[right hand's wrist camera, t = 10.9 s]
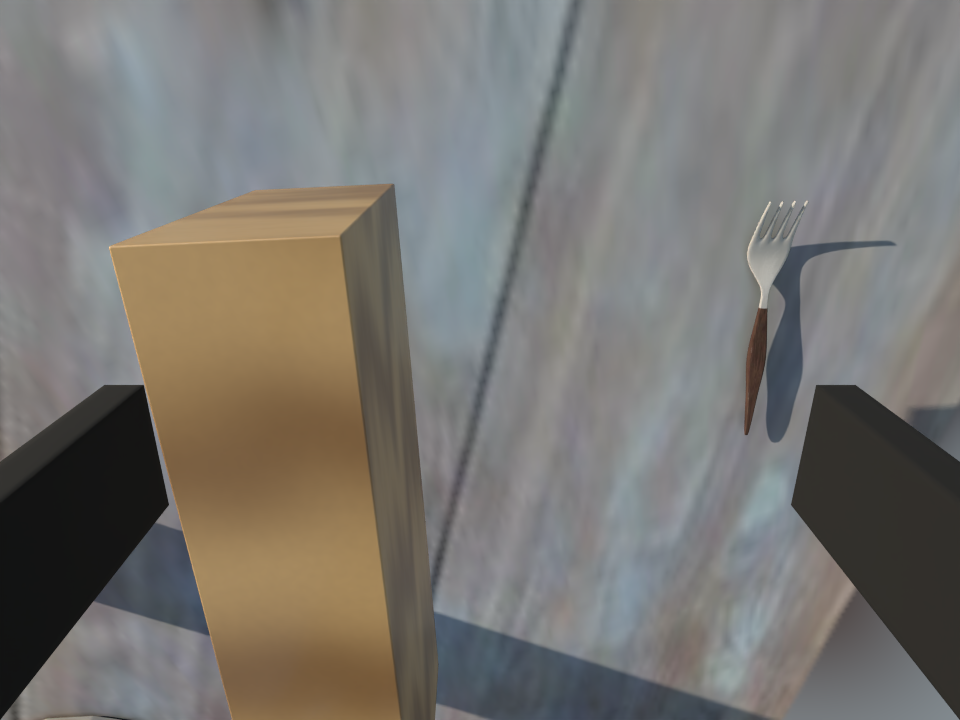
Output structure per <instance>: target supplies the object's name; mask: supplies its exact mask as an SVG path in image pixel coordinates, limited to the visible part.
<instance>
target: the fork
mask: <svg viewBox="0 0 960 720" xmlns="http://www.w3.org/2000/svg"><path fill="white" fill-rule="evenodd" d="M795 203H796V201H794V202H793V204H792V206H791V207H790V209H789V211H788V213H787V215H786V217H785V219H784V220H783V222H782V224H781V226H780V228H779V230H778V232H777V234H776V236H775V237H774V238H771V235H772V231H773V228H774V226H775V223H776V220H777V218H778V215H779V213H780V210H781V208H782V205H783V201H782V202H781V204H780V206H779V208H778V209H777V211H776V213H775V215H774V217H773V219H772V221H771V223H770V225H769V227H768V229H767V231H766V233H765V235H764V237H763V238H761V239H760V232H761V229H762V226H763V224H764V221H765V218H766V215H767V213H768V210H769V207H770V205H771V202H769V204H768V206H767V208H766V210H765V212H764V214H763V216H762V218H761V220H760V222H759V224H758V226H757V228H756V230H755V233H754V235H753V237H752V240H751V242H750V244H749V247H748V251H747V260H748V264H749V267H750V269H751V271H752V273H753V274H754V276H755V278H756V280H757V282H758V284H759V286H760V289H761V300H760V304H759V308H758V312H757V316H756V320H755V324H754V328H753V331H752V335H751V339H750V344H749V348H748V353H747V362H746V402H745V425H744V432H745V435H748V432H749V429H750V425H751V421H752V417H753V412H754V408H755V403H756V399H757V395H758V391H759V387H760V383H761V379H762V375H763V371H764V366H765V360H766V348H767V303H768V294H769V290H770V288H771V285H772V283H773V282H774V280H775V278H776V276H777V275H778V273H779V272H780V270H781V268H782V266H783V265H784V263H785V261H786V259H787V256H788V254H789V251H790V248H791V245H792V241H793V237H794V234H795V232H796V229H797V227H798V224H799V222H800V219H801V217H802V215H803V212H804V210H805V208H806V206H807V204H808V200H807V201H806V202H805V204H804V206H803V207H802V209H801V211H800V213H799V214H798V216H797V218H796V220H795V222H794V224H793V226H792V228H791V230H790V231H789V233H788V235H787V236H786V237H785V238H783V233H784V230H785V227H786V225H787V222H788V220H789V217H790V215H791V212H792V210H793V208H794V205H795Z"/></svg>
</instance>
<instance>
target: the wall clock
mask: <svg viewBox="0 0 960 720" xmlns="http://www.w3.org/2000/svg"><path fill="white" fill-rule="evenodd" d="M44 720H120V719H112V718H105V717H97V716H83V717H65V718H48V719H44Z"/></svg>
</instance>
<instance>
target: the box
mask: <svg viewBox="0 0 960 720" xmlns="http://www.w3.org/2000/svg"><path fill="white" fill-rule="evenodd" d="M109 249H110V253H111V257H112V261H113V265H114V269H115V272H116V276H117V280H118V284H119V288H120V292H121V295H122V299H123V303H124V307H125V311H126V315H127V318H128V322H129V326H130V330H131V334H132V338H133V341H134V345H135V349H136V353H137V357H138V361H139V364H140V368H141V372H142V376H143V380H144V384H145V387H146V391H147V395H148V399H149V403H150V407H151V410H152V414H153V418H154V422H155V426H156V430H157V433H158V437H159V441H160V445H161V449H162V453H163V456H164V460H165V464H166V468H167V472H168V476H169V479H170V483H171V487H172V491H173V495H174V499H175V502H176V506H177V510H178V514H179V518H180V522H181V525H182V529H183V533H184V537H185V541H186V545H187V548H188V552H189V556H190V560H191V564H192V568H193V571H194V575H195V579H196V583H197V587H198V591H199V594H200V598H201V602H202V606H203V610H204V614H205V617H206V621H207V625H208V629H209V633H210V637H211V640H212V644H213V648H214V652H215V656H216V660H217V663H218V667H219V671H220V675H221V679H222V683H223V686H224V690H225V694H226V698H227V702H228V706H229V709H230V713H231V717H232V720H435V709H436V694H437V678H438V655H437V644H436V633H435V622H434V611H433V600H432V590H431V579H430V568H429V557H428V546H427V535H426V524H425V513H424V502H423V492H422V481H421V470H420V459H419V448H418V437H417V426H416V415H415V404H414V394H413V383H412V372H411V361H410V350H409V339H408V328H407V317H406V306H405V296H404V285H403V274H402V263H401V252H400V241H399V230H398V219H397V208H396V198H395V187H394V184H377V185H356V186H335V187H314V188H293V189H272V190H255V191H252V192H249V193H247V194H244V195H242V196H239V197H236V198H234V199H231V200H229V201H226V202H223V203H221V204H218V205H216V206H213V207H210V208H208V209H205V210H203V211H200V212H197V213H195V214H192V215H190V216H187V217H184V218H182V219H179V220H177V221H174V222H171V223H169V224H166V225H164V226H161V227H158V228H156V229H153V230H151V231H148V232H145V233H143V234H140V235H138V236H135V237H132V238H130V239H127V240H125V241H122V242H119V243H117V244H114V245H111V246H110V247H109Z"/></svg>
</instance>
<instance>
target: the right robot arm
mask: <svg viewBox="0 0 960 720" xmlns="http://www.w3.org/2000/svg"><path fill="white" fill-rule="evenodd" d="M168 505H169V503H168V498H167V494H166V489H165V484H164V479H163V474H162V470H161V465H160V460H159V455H158V451H157V446H156V441H155V436H154V432H153V427H152V422H151V417H150V413H149V408H148V403H147V398H146V394H145V389H144V385H104V386H103V387H101V388H100V389H99V390H97V391H96V392H94V393H93V394H92V395H90V396H89V397H88V398H86V399H85V400H84V401H82V402H81V403H80V404H78V405H77V406H75V407H74V408H73V409H71V410H70V411H69V412H67V413H66V414H65V415H63V416H62V417H61V418H59V419H58V420H56V421H55V422H54V423H52V424H51V425H50V426H48V427H47V428H46V429H44V430H43V431H42V432H40V433H39V434H37V435H36V436H35V437H33V438H32V439H31V440H29V441H28V442H27V443H25V444H24V445H23V446H21V447H20V448H18V449H17V450H16V451H14V452H13V453H12V454H10V455H9V456H8V457H6V458H5V459H4V460H2V461H1V462H0V719H1V718H2V717H3V716H4V714H5V713H6V712H7V710H8V709H9V708H10V707H11V705H12V704H13V703H14V702H15V700H16V699H17V698H18V696H19V695H20V694H21V693H22V691H23V690H24V689H25V688H26V686H27V685H28V684H29V682H30V681H31V680H32V679H33V677H34V676H35V675H36V674H37V672H38V671H39V670H40V668H41V667H42V666H43V665H44V663H45V662H46V661H47V660H48V658H49V657H50V656H51V654H52V653H53V652H54V651H55V649H56V648H57V647H58V646H59V644H60V643H61V642H62V640H63V639H64V638H65V637H66V635H67V634H68V633H69V632H70V630H71V629H72V628H73V626H74V625H75V624H76V623H77V621H78V620H79V619H80V617H81V616H82V615H83V614H84V612H85V611H86V610H87V609H88V607H89V606H90V605H91V603H92V602H93V601H94V600H95V598H96V597H97V596H98V595H99V593H100V592H101V591H102V589H103V588H104V587H105V586H106V584H107V583H108V582H109V581H110V579H111V578H112V577H113V575H114V574H115V573H116V572H117V570H118V569H119V568H120V567H121V565H122V564H123V563H124V561H125V560H126V559H127V558H128V556H129V555H130V554H131V553H132V551H133V550H134V549H135V547H136V546H137V545H138V544H139V542H140V541H141V540H142V538H143V537H144V536H145V535H146V533H147V532H148V531H149V530H150V528H151V527H152V526H153V524H154V523H155V522H156V521H157V519H158V518H159V517H160V516H161V514H162V513H163V512H164V510H165V509H166V508H167V507H168ZM791 505H792V507H793V508H794V509H795V510H796V512H797V513H798V514H799V516H800V517H801V518H802V519H803V521H804V522H805V523H806V524H807V526H808V527H809V528H810V530H811V531H812V532H813V533H814V535H815V536H816V537H817V538H818V540H819V541H820V542H821V544H822V545H823V546H824V547H825V549H826V550H827V551H828V553H829V554H830V555H831V556H832V558H833V559H834V560H835V561H836V563H837V564H838V565H839V567H840V568H841V569H842V570H843V572H844V573H845V574H846V575H847V577H848V578H849V579H850V581H851V582H852V583H853V584H854V586H855V587H856V588H857V589H858V591H859V592H860V593H861V595H862V596H863V597H864V598H865V600H866V601H867V602H868V603H869V605H870V606H871V607H872V609H873V610H874V611H875V612H876V614H877V615H878V616H879V617H880V619H881V620H882V621H883V623H884V624H885V625H886V626H887V628H888V629H889V630H890V632H891V633H892V634H893V635H894V637H895V638H896V639H897V640H898V642H899V643H900V644H901V646H902V647H903V648H904V649H905V651H906V652H907V653H908V654H909V656H910V657H911V658H912V660H913V661H914V662H915V663H916V665H917V666H918V667H919V668H920V670H921V671H922V672H923V674H924V675H925V676H926V677H927V679H928V680H929V681H930V682H931V684H932V685H933V686H934V688H935V689H936V690H937V691H938V693H939V694H940V695H941V696H942V698H943V699H944V700H945V701H946V703H947V704H948V705H949V707H950V708H951V709H952V710H953V712H954V713H955V714H956V715H957V717H958V718H959V719H960V462H959V461H958V460H956V459H955V458H954V457H952V456H951V455H950V454H948V453H947V452H946V451H944V450H943V449H942V448H940V447H939V446H937V445H936V444H935V443H933V442H932V441H931V440H929V439H928V438H927V437H925V436H924V435H923V434H921V433H920V432H918V431H917V430H916V429H914V428H913V427H912V426H910V425H909V424H908V423H906V422H905V421H904V420H902V419H901V418H899V417H898V416H897V415H895V414H894V413H893V412H891V411H890V410H889V409H887V408H886V407H885V406H883V405H882V404H880V403H879V402H878V401H876V400H875V399H874V398H872V397H871V396H870V395H868V394H867V393H866V392H864V391H863V390H861V389H860V388H859V387H857V386H856V385H816V389H815V394H814V398H813V403H812V408H811V413H810V417H809V422H808V427H807V432H806V436H805V441H804V446H803V451H802V455H801V460H800V465H799V470H798V474H797V479H796V484H795V489H794V494H793V498H792V503H791Z"/></svg>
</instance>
